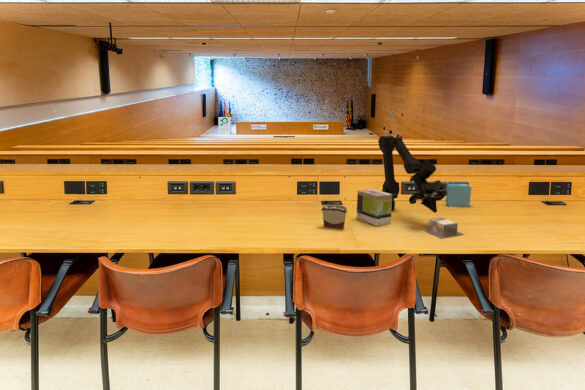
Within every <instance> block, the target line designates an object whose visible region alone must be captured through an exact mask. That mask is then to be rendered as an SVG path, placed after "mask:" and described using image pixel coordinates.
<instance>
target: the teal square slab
mask: <svg viewBox="0 0 585 390" xmlns="http://www.w3.org/2000/svg"><path fill="white" fill-rule="evenodd" d="M446 192H447V195H446V196H445V204H446V205H447V206H448V207H450V206H452V208H453V207H457V208H461V207H462V208H468V207H469V206H470V204H471V196H472V186H471V185H469V184H468V183H448V184H447V186H446Z"/></svg>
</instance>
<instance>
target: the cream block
mask: <svg viewBox="0 0 585 390" xmlns="http://www.w3.org/2000/svg"><path fill="white" fill-rule="evenodd" d="M458 225H459V224H458V222H455V221H453V220H450V219H447V218H445V217H443V216H439V217H438V216H437V217H432V218H431V217H430V218H428V225H427V230H432V231H434V232H436V233H439V234H441V235H443V236H448V235H454V234H457V231H458Z"/></svg>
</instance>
